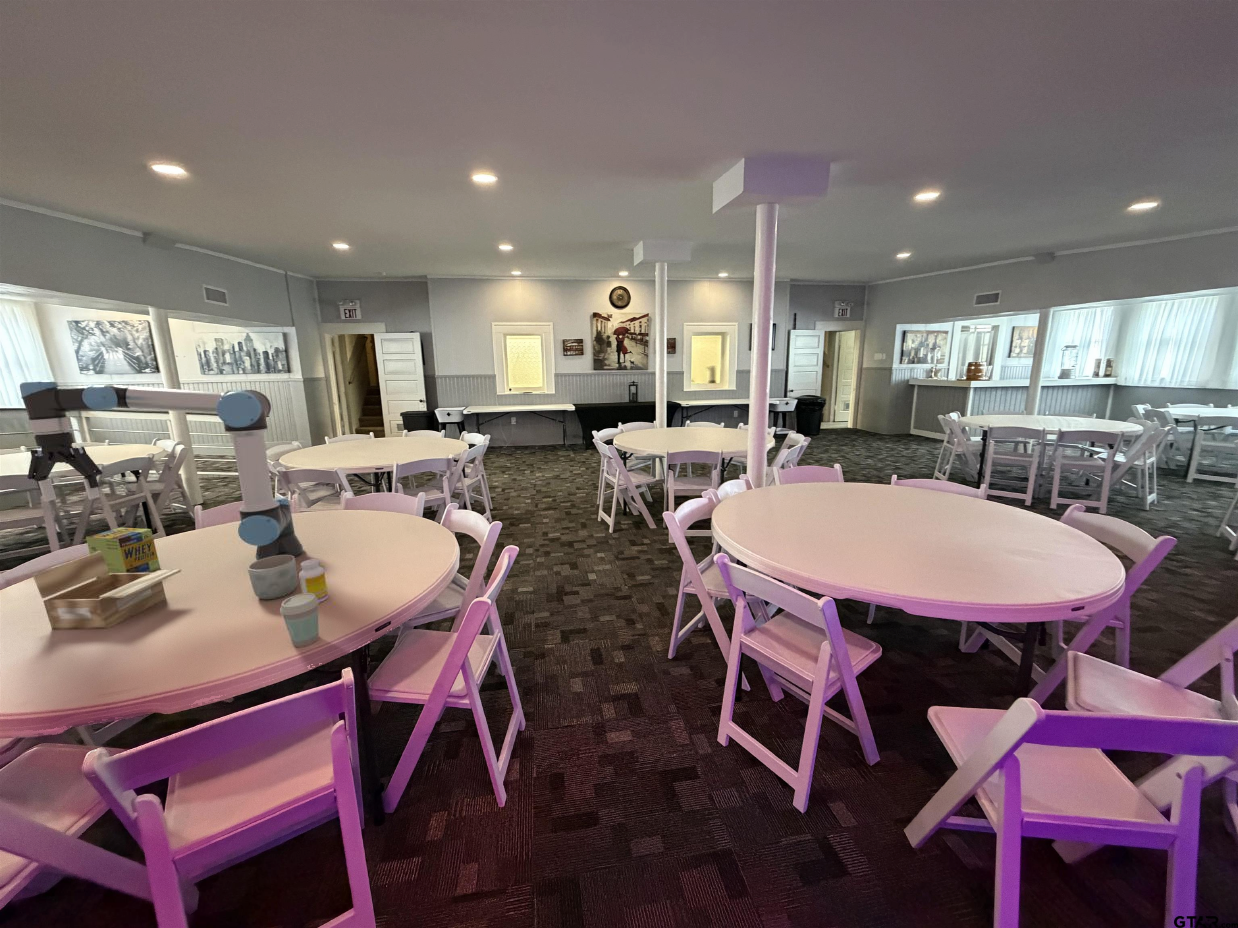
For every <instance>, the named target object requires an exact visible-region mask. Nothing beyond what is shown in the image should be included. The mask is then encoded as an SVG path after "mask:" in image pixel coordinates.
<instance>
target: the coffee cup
mask: <svg viewBox="0 0 1238 928" xmlns="http://www.w3.org/2000/svg"><path fill="white" fill-rule="evenodd" d="M279 613H280V614H281V615H282V617H283V620H284V624H285V626H286V628H287V631H288V635H289V637H290V639H291V643H292V646H293V647H295V648H303V647H307V646H310V645H312V644H314V643H316V642H317V641H318V640H319V639H320V638H319V637H320V634H319V601H318V598H316V596H315V595H314V594H312V593H304V594H302V593H299V594H295V595H293V596H290V597H288V598H286V599H284V600H283V601H282V602H281V605H280V608H279Z"/></svg>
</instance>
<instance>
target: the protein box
mask: <svg viewBox="0 0 1238 928" xmlns="http://www.w3.org/2000/svg"><path fill="white" fill-rule="evenodd" d="M85 539H86V543H87V548H88V550H89V555H90V554H93V553H96V552H99V551H101V552H102V555H103V557H104V560H105V563H106V565H107V568H108V571H109V572H108V573H105V574H103V575H100V576H98V577H97V578H101V577H103V576H105V575H108V574H110V573H152V572H153V571H154V572H155V571H157V570H160V569H161V564H160V561H159V557H158V551H157V548H156V544H155V541H154V535H153V531H152V528H151V529H150V528H136V527H135V528H134V527H118V528H113V529H111V530H107V531H103V532H99V533H94V534H92V535H87V536H85Z"/></svg>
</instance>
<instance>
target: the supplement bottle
mask: <svg viewBox="0 0 1238 928" xmlns="http://www.w3.org/2000/svg"><path fill="white" fill-rule="evenodd" d="M319 565H320V561H319V559H318V558H312V559H311V558H310V559H307V560H304V561H302V562H301V563H300V568H301V569H302V570H300V572H299V573H298V578H299V583H300V584H299V585H300V588H301V589H300V590H301V594H304V593H312V594H314V595H315V596H316V598H318V601H319V603H322V602H324V601H326V600H327V599H328V597H329V591H328V585H327V581H326V575H325V569H324V568H323V567H322V566H319ZM319 603H318V604H319Z"/></svg>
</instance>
